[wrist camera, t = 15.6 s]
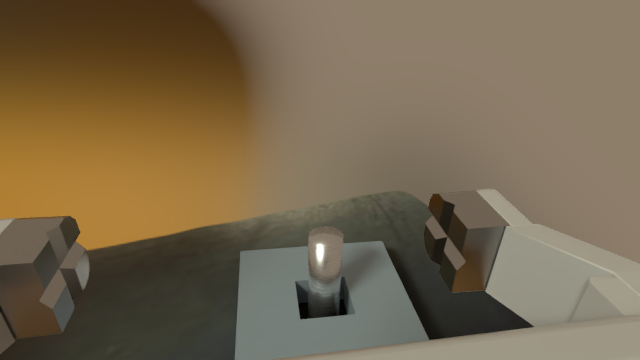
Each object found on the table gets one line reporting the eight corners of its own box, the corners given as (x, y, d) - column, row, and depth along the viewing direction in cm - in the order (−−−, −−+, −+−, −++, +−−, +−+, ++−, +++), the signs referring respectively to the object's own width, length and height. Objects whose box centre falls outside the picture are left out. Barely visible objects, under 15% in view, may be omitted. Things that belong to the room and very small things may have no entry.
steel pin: (309, 333, 37) (310, 247, 33) (306, 310, 40) (306, 227, 35) (341, 330, 38) (346, 245, 33) (335, 307, 40) (339, 225, 36)
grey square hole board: (236, 408, 31) (233, 383, 29) (242, 272, 45) (240, 251, 43) (432, 384, 33) (438, 359, 31) (379, 261, 47) (381, 240, 46)
